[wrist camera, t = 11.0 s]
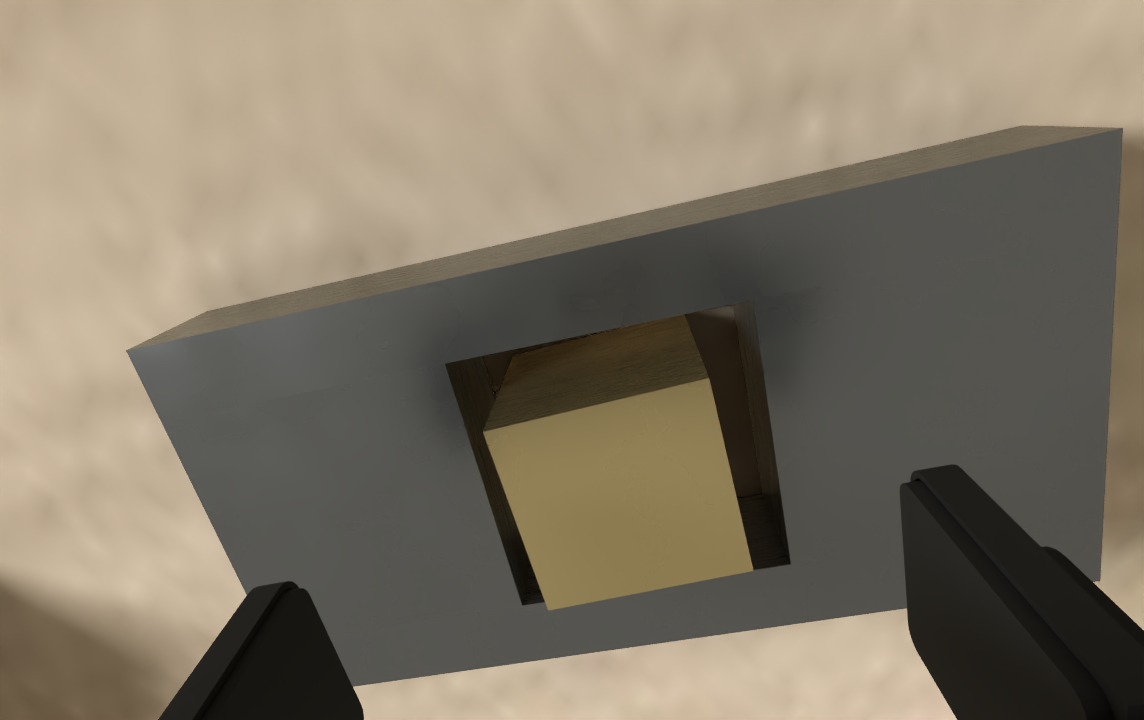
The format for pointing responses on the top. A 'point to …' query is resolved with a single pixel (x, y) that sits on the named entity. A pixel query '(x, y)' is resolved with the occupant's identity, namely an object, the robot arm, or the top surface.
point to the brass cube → (617, 465)
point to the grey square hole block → (773, 383)
